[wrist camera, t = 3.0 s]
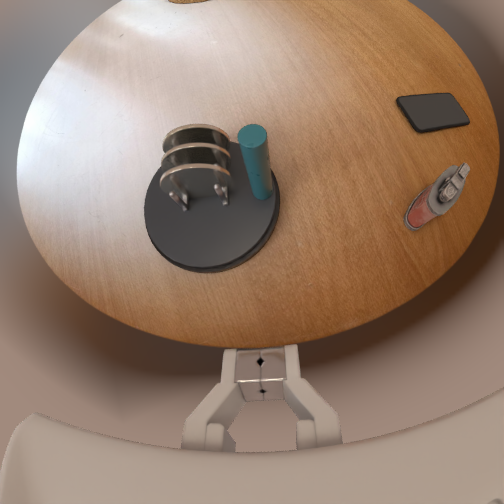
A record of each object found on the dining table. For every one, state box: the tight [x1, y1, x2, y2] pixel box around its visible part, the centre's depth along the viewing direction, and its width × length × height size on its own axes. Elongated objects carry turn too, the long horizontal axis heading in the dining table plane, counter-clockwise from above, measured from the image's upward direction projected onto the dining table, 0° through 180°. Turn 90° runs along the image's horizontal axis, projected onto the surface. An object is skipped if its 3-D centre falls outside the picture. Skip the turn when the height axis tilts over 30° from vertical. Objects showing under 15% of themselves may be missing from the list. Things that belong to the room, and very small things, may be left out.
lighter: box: [404, 163, 470, 231], centre depth 27 cm, size 8×3×10 cm, turn 132°
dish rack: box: [144, 124, 276, 268], centre depth 28 cm, size 17×17×13 cm
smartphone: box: [396, 93, 470, 133], centre depth 34 cm, size 7×1×15 cm
